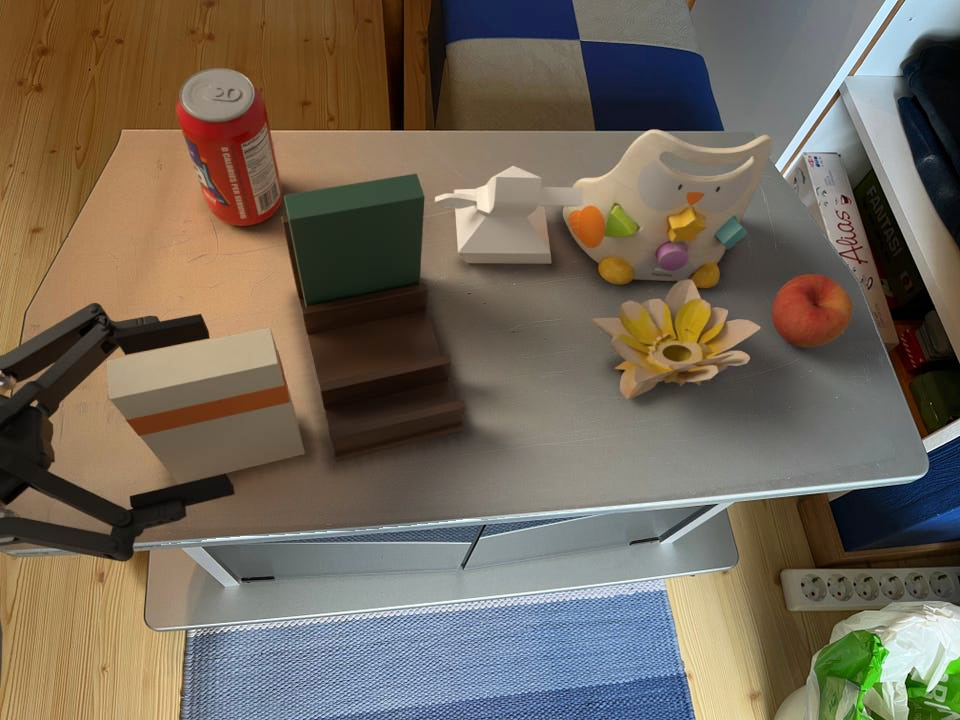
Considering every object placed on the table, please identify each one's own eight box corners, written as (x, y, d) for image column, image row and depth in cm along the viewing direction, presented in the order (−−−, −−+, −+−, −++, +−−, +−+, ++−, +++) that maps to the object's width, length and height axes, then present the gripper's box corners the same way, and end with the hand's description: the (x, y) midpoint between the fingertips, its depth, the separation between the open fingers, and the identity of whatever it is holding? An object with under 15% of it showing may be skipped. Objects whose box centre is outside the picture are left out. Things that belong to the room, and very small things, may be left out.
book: (305, 454, 67) (278, 364, 52) (178, 485, 65) (108, 400, 49) (299, 423, 69) (271, 326, 53) (174, 452, 66) (105, 359, 50)
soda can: (278, 233, 78) (255, 128, 65) (202, 228, 78) (163, 121, 64) (287, 176, 82) (267, 65, 69) (214, 171, 81) (179, 58, 68)
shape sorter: (569, 287, 79) (612, 172, 63) (561, 208, 84) (599, 84, 68) (746, 292, 81) (831, 182, 65) (728, 215, 86) (803, 96, 70)
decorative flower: (712, 277, 79) (755, 241, 69) (748, 378, 77) (797, 355, 67) (580, 309, 77) (605, 276, 67) (613, 414, 75) (644, 395, 65)
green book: (419, 301, 75) (424, 196, 61) (309, 323, 72) (289, 220, 58) (412, 280, 76) (416, 172, 62) (304, 301, 73) (283, 194, 59)
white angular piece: (430, 209, 82) (436, 115, 70) (554, 211, 83) (582, 119, 71) (433, 273, 78) (440, 185, 66) (563, 273, 80) (594, 188, 68)
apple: (838, 335, 80) (882, 295, 73) (799, 373, 77) (840, 335, 70) (785, 289, 82) (822, 246, 75) (744, 325, 79) (779, 284, 72)
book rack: (462, 431, 70) (476, 368, 58) (336, 462, 67) (323, 402, 56) (413, 276, 78) (417, 192, 66) (298, 298, 75) (280, 215, 63)
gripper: (-63, 343, 61) (206, 293, 65) (-69, 657, 50) (251, 571, 55) (-119, 293, 54) (185, 242, 59) (-140, 643, 44) (232, 547, 48)
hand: (218, 401), depth 57 cm, fingers open, 13 cm apart
